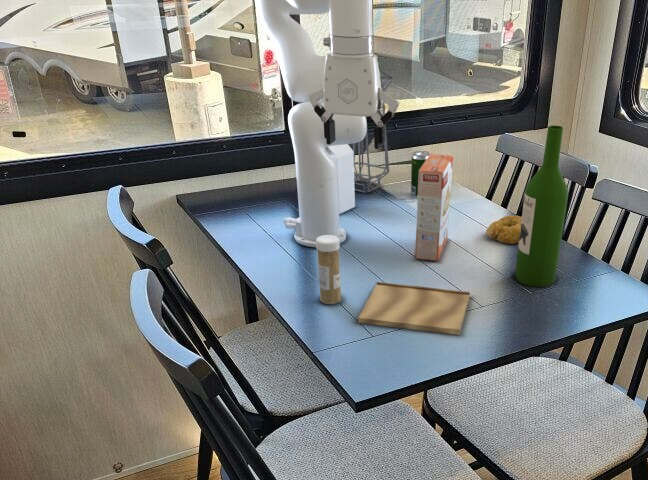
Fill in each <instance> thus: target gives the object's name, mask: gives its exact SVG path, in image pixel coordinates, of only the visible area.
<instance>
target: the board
mask: <svg viewBox="0 0 648 480" xmlns="http://www.w3.org/2000/svg"><path fill="white" fill-rule="evenodd" d="M470 298H471V292H470V291H465V290H454V289H448V288H447V289H445V288H439V287H427V286H418V285H411V284H409V285H408V284H401V283H400V284H399V283H392V282H382V281H376V283H375V286H374V287H373V289H372V291H371V293H370V295H369V297H368V298H367V301H365V303H364V306H363V307H362V310H361V311H360V313H359V315H358V317H357V324H364V325H372V326H380V327H387V328H389V327H390V328H397V329H406V330H414V331H422V332H429V333H438V334H439V333H440V334H447V335H448V334H449V335H457V336H460V333H461V329H462V326H463V322H464V319H465V316H466V313H467V309H468V305H469V302H470Z"/></svg>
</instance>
